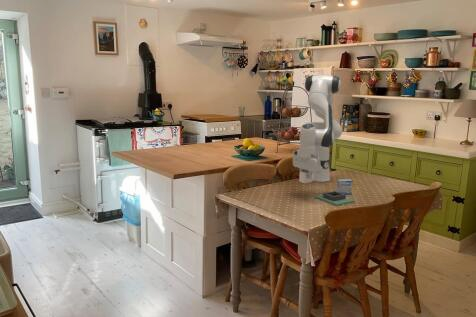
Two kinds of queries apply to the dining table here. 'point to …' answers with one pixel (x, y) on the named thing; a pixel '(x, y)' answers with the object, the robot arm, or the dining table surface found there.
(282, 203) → the dining table surface
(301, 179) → the keyed plug
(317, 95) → the robot arm
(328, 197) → the header board
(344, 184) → the medicine box
